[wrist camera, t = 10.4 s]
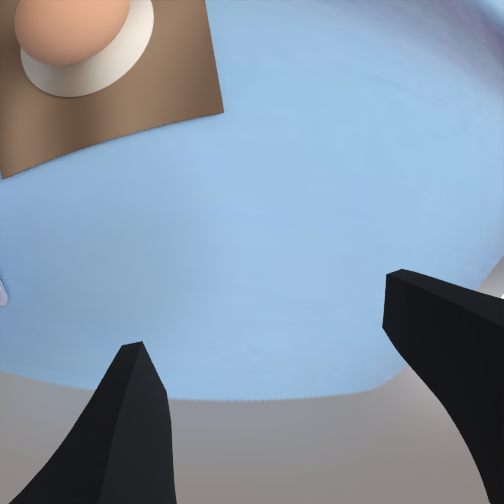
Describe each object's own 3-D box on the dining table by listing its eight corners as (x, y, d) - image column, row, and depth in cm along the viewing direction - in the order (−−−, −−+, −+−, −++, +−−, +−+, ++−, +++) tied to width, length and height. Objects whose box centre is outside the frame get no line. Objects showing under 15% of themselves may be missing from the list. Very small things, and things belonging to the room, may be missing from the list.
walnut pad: (8, 177, 13) (1, 179, 12) (-10, -8, 8) (-16, -12, 7) (222, 113, 15) (224, 112, 14) (190, -75, 10) (191, -82, 9)
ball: (41, 90, 11) (0, 73, 7) (31, 7, 9) (-3, -31, 5) (139, 55, 12) (138, 20, 8) (125, -25, 10) (122, -78, 6)
